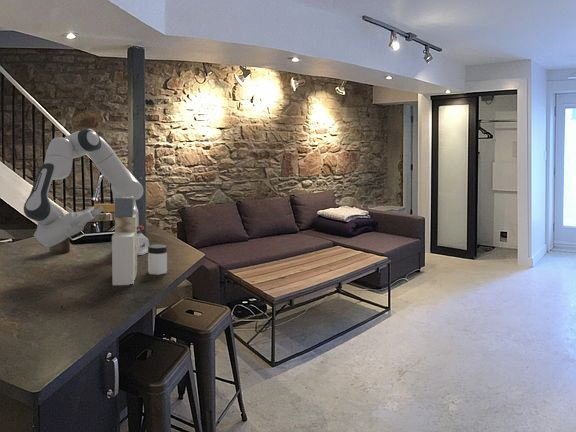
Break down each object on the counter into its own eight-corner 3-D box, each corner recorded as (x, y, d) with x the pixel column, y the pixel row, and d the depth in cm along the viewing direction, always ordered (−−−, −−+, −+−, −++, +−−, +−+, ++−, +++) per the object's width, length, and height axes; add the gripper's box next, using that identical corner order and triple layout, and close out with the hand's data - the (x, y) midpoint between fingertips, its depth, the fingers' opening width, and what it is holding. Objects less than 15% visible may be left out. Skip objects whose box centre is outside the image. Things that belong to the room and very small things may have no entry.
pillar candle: (73, 251, 248) (73, 223, 246) (56, 254, 240) (55, 225, 238) (62, 249, 253) (61, 221, 251) (44, 252, 245) (43, 223, 243)
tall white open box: (112, 285, 193) (111, 236, 190) (115, 279, 202) (114, 232, 199) (133, 284, 195) (132, 236, 192) (135, 278, 204) (134, 232, 201)
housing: (93, 217, 199) (93, 197, 198) (96, 214, 206) (95, 196, 205) (132, 217, 203) (132, 198, 202) (133, 214, 209) (133, 196, 208)
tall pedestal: (115, 277, 204) (115, 217, 200) (118, 272, 212) (117, 214, 209) (135, 277, 206) (135, 217, 202) (137, 272, 214) (136, 214, 211)
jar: (160, 268, 221) (160, 243, 219) (171, 272, 216) (171, 246, 214) (143, 272, 214) (143, 246, 213) (154, 276, 209) (154, 249, 208)
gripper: (64, 220, 190) (96, 203, 192) (74, 212, 210) (103, 197, 212) (73, 233, 192) (105, 216, 194) (82, 225, 211) (111, 209, 213)
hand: (104, 206), depth 203 cm, fingers open, 4 cm apart
